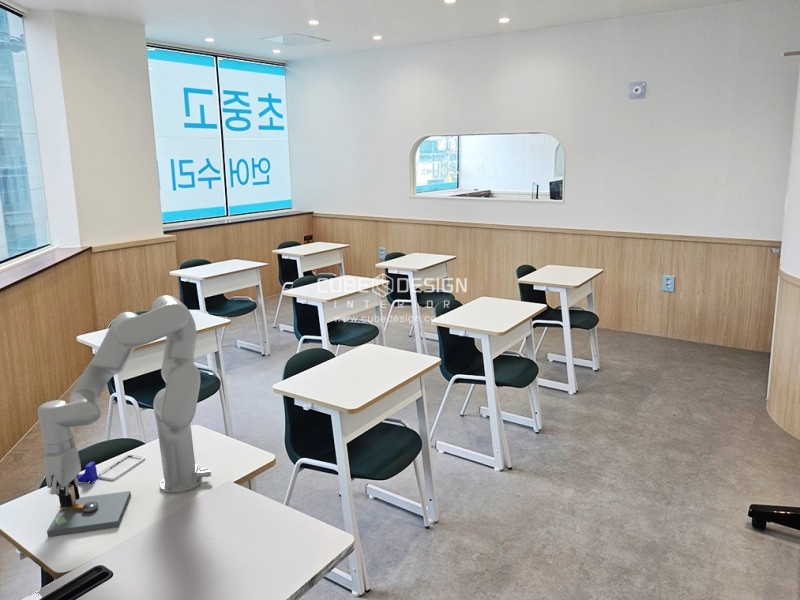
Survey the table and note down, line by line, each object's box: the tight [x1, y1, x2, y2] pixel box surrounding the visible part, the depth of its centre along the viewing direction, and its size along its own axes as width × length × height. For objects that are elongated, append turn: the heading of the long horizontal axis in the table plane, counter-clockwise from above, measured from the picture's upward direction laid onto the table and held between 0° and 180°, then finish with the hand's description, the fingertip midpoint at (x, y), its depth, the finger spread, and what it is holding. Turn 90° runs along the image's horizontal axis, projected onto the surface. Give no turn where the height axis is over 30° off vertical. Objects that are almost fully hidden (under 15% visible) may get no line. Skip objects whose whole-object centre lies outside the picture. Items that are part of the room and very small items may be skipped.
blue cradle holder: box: [78, 461, 99, 484], centre depth 191 cm, size 12×4×6 cm, turn 86°
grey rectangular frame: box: [97, 453, 146, 482], centre depth 199 cm, size 7×1×15 cm
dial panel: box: [46, 490, 132, 538], centre depth 172 cm, size 18×16×2 cm
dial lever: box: [59, 484, 98, 513], centre depth 171 cm, size 11×4×7 cm, turn 84°
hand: (70, 502), depth 172 cm, fingers open, 3 cm apart
